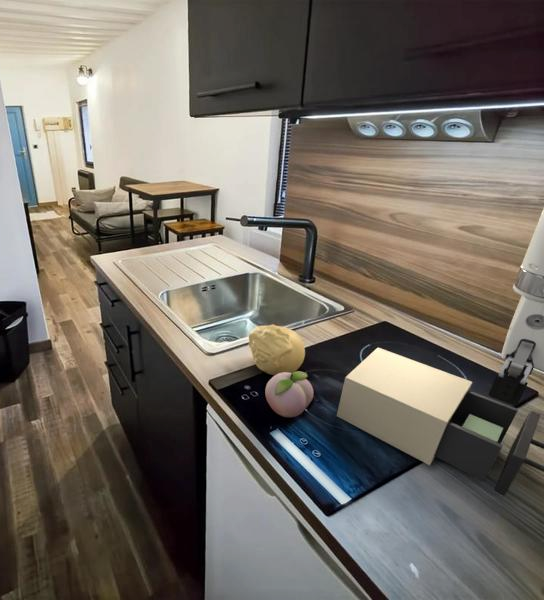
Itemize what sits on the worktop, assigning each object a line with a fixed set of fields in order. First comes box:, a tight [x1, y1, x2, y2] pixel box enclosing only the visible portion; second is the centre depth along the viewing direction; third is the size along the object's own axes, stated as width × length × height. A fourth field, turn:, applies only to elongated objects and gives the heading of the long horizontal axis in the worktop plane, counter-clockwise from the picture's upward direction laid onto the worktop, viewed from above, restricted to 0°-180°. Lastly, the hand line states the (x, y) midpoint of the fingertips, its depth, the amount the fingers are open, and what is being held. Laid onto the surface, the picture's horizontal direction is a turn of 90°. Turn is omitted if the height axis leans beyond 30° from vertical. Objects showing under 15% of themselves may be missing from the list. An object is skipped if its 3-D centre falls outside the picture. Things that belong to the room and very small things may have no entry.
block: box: [462, 414, 503, 442], centre depth 61 cm, size 4×4×4 cm
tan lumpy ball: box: [248, 323, 306, 377], centre depth 85 cm, size 11×12×11 cm
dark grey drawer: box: [434, 390, 544, 497], centre depth 60 cm, size 20×13×8 cm
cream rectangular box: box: [336, 347, 473, 466], centre depth 69 cm, size 16×15×10 cm
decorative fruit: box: [264, 370, 314, 418], centre depth 71 cm, size 9×8×10 cm
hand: (509, 384), depth 56 cm, fingers open, 9 cm apart
